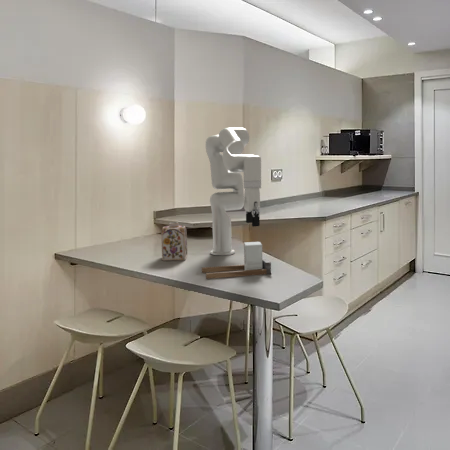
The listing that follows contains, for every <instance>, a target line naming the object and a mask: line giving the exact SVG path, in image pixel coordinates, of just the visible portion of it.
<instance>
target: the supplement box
mask: <svg viewBox="0 0 450 450" xmlns="http://www.w3.org/2000/svg"><path fill="white" fill-rule="evenodd" d="M243 252H244V253H243V255H244V256H243V257H244V259H243V261H244V262H243V263H244V264H243V265H244V269H245V270H256V269H263V265H262V257H263V244H262V242H261V241H248V242H247V241H246V242H243Z"/></svg>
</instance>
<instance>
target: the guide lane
mask: <svg viewBox="0 0 450 450" xmlns="http://www.w3.org/2000/svg"><path fill="white" fill-rule="evenodd" d="M262 265H263V269H256V270H245V269H244V264H235V265H234V264H232V265H218V266H205V267H201V273H203V274H205V279H223V278H235V277H247V276H249V277H250V276H261V275H271V274H272V262H271V261H269V260H268V259H267V258H266V257H264V256H262Z"/></svg>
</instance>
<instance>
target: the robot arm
mask: <svg viewBox="0 0 450 450" xmlns="http://www.w3.org/2000/svg"><path fill="white" fill-rule="evenodd" d="M249 141H250V134H249V132H248V129H246V128H244V127H225V128H222V129H221V130H220V131H219V132H218V134H215V135H211V136H208V137H207V138H206V141H205V152H206V155H207V158H208V160H209V164H210V178H211V186H212V188H213V189H216V190H232V191H218V192H217V191H216V192H214V193H212V194H211V196H210V199H209V204H210V208H211V218H212V220H211V221H212V223H211V224H212V249H211V250H210V251H209V254H211V255H213V256H230V255H234V254H235V249H232V248H233V247H232V219H231V216H230V215H229V214H228V213H227V212H229V211H238V210H242V209H244V210H245V222H246V223H247V224H249V223H250V224H251V226H252V227H253V228H254V227H260V223H261V222H260V215H261V214H260V212H261V192H260V189H262V158H261V156H260V155H255V154H242V153H243V152H244V149H245V147H246V146H247V145H248V144H249ZM242 173H243V176H242Z"/></svg>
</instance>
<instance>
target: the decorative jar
mask: <svg viewBox="0 0 450 450" xmlns="http://www.w3.org/2000/svg"><path fill="white" fill-rule="evenodd" d="M168 224H169V225H165V226H162V229H161V233H160V234H161V260H162V261H165V262H167V261H169V262H170V261H186V259H187V257H188V235H187V232H188V230H187V228H186V226H185V225H182V224H181V225H180V224H179V222H177V221H172V222H169V223H168Z"/></svg>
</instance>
